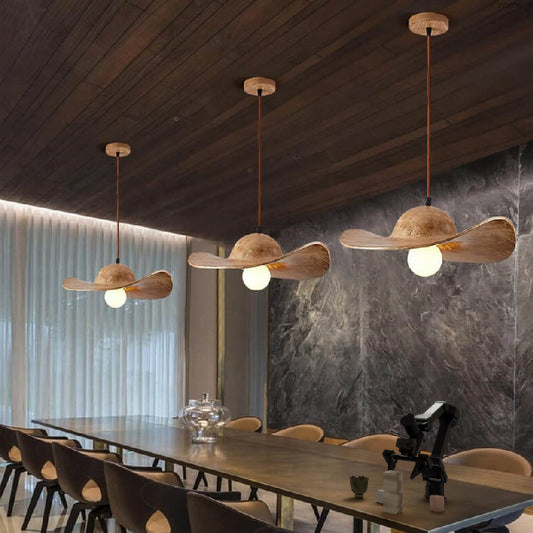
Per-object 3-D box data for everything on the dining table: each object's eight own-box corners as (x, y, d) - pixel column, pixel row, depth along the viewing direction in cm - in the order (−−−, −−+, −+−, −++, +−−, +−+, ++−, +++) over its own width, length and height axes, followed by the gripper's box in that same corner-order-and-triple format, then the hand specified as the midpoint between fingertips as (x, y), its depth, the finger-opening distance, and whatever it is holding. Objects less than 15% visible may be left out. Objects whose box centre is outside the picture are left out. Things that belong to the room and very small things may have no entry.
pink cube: (439, 508, 263) (439, 494, 263) (446, 511, 258) (446, 497, 259) (427, 509, 261) (427, 495, 262) (434, 512, 256) (434, 498, 257)
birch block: (390, 509, 259) (390, 470, 261) (402, 511, 256) (402, 472, 258) (383, 512, 255) (383, 472, 257) (395, 514, 252) (395, 473, 254)
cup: (366, 495, 283) (367, 475, 284) (370, 499, 275) (370, 478, 276) (348, 495, 283) (348, 475, 283) (351, 499, 275) (351, 478, 276)
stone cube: (385, 500, 275) (385, 488, 275) (393, 503, 271) (393, 491, 271) (376, 502, 272) (376, 489, 273) (384, 504, 269) (384, 492, 269)
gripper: (384, 427, 273) (369, 460, 263) (429, 432, 261) (415, 466, 251) (394, 446, 278) (380, 479, 268) (438, 451, 266) (425, 486, 256)
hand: (399, 477), depth 261 cm, fingers open, 9 cm apart
